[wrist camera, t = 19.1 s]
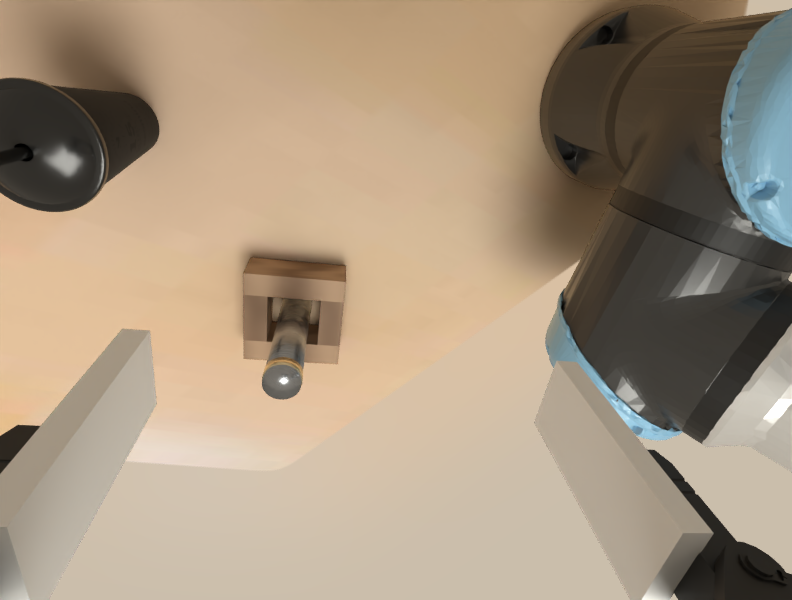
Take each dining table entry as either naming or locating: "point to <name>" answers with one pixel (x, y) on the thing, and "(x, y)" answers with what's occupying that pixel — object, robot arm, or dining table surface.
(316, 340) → the square wooden frame
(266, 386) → the metal cylinder
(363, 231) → the dining table surface
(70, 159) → the drinking cup
